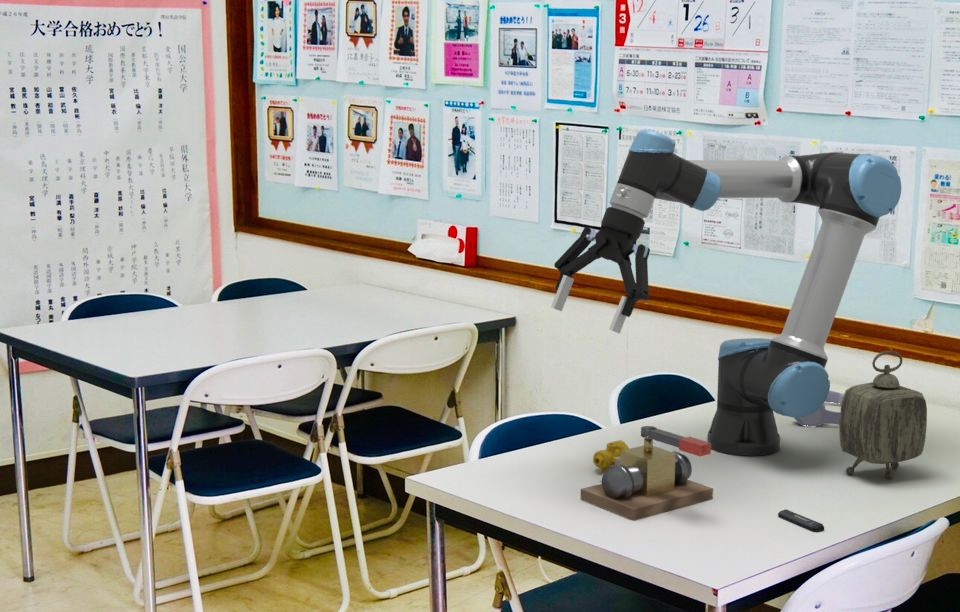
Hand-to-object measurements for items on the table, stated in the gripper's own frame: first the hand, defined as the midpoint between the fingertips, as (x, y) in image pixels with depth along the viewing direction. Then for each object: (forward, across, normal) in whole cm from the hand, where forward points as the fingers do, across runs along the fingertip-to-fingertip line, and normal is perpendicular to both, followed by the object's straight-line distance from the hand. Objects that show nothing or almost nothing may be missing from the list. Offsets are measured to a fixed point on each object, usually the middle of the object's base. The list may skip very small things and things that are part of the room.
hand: (584, 320), depth 225 cm
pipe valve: (+25, +18, +13) cm, 34 cm away
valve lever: (+15, +22, +8) cm, 28 cm away
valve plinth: (+26, +18, +14) cm, 35 cm away
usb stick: (+20, +45, +19) cm, 53 cm away
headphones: (0, +16, +88) cm, 89 cm away
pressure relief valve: (+25, +6, +25) cm, 36 cm away
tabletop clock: (+7, +44, +52) cm, 68 cm away
